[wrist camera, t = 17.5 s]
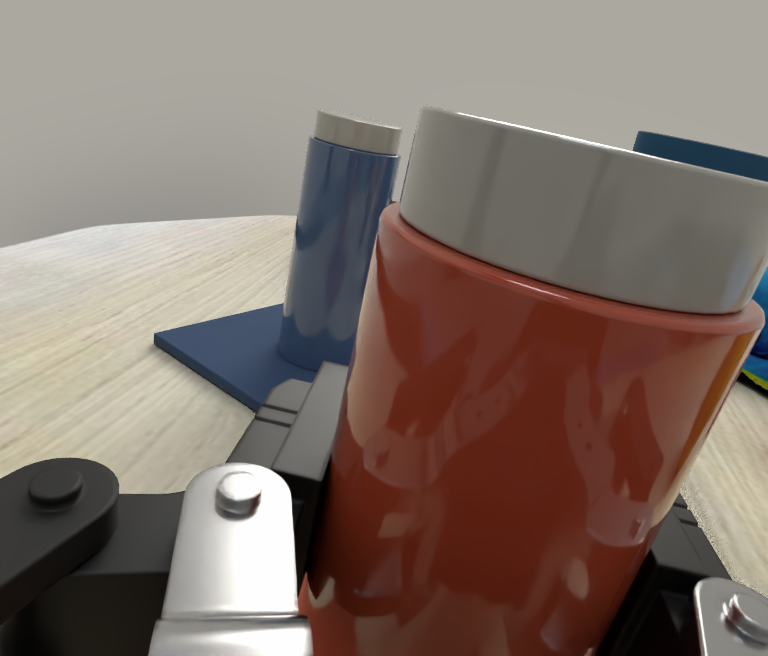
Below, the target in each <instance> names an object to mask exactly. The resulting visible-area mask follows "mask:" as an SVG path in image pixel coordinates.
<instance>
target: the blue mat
mask: <svg viewBox="0 0 768 656" xmlns="http://www.w3.org/2000/svg"><path fill="white" fill-rule="evenodd" d="M283 308H284V303H282V304H278V305H274V306H270V307H265V308H261V309H257V310H252V311H248V312H244V313H240V314H235V315H231V316H227V317H222V318H218V319H214V320H209V321H205V322H201V323H197V324H192V325H188V326H184V327H179V328H175V329H171V330H166V331H162V332H158V333H155V334H154V344H156V345H157V346H159V347H160V348H162V349H163V350H165V351H166V352H168V353H169V354H171V355H172V356H174V357H175V358H177V359H178V360H180V361H181V362H183V363H184V364H186V365H187V366H189V367H190V368H192V369H193V370H195V371H196V372H198V373H199V374H200V375H202V376H203V377H205V378H206V379H208V380H209V381H211V382H212V383H214V384H215V385H217V386H218V387H220V388H221V389H223V390H224V391H226V392H227V393H229V394H230V395H232V396H233V397H235V398H236V399H238V400H239V401H241V402H242V403H244V404H245V405H247V406H248V407H250V408H251V409H253V410H254V411H256V412H258V410H259V409H260V407H261V406H262V405H263V402H264V401H265V399H266V397H267V396H268V394H269V393H270V391H271V390H272V388H274V387H276V386H278V385H279V384H281V383H283V382H285V381H287V380H289V379H290V378H292V379H296V380H300V381H305V382H309V383H312V382H313V380H314V378H315V376H316V374H317V372H318V371H313V370H309V369H305V368H302V367H299V366H296V365H294V364H292V363H290V362H289V361H287V360H286V359H284V358H283V357H282V356H281V354H280V353H279V351H278V341H279V334H280V328H281V321H282V314H283Z"/></svg>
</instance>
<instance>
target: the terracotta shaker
mask: <svg viewBox="0 0 768 656" xmlns="http://www.w3.org/2000/svg"><path fill="white" fill-rule="evenodd" d="M767 267H768V182H766V181H761V180H757V179H752V178H748V177H744V176H739V175H735V174H730V173H726V172H721V171H717V170H713V169H708V168H704V167H699V166H695V165H691V164H686V163H682V162H677V161H673V160H668V159H664V158H660V157H655V156H651V155H646V154H642V153H638V152H633V151H628V150H624V149H620V148H615V147H611V146H607V145H602V144H597V143H593V142H589V141H584V140H580V139H576V138H571V137H567V136H562V135H558V134H553V133H549V132H544V131H540V130H536V129H531V128H527V127H522V126H518V125H513V124H509V123H505V122H500V121H495V120H491V119H487V118H482V117H478V116H474V115H469V114H465V113H460V112H456V111H451V110H447V109H442V108H438V107H433V106H429V105H423V106H422V107H421V108H420V111H419V116H418V121H417V125H416V130H415V134H414V139H413V143H412V148H411V153H410V157H409V162H408V166H407V171H406V176H405V180H404V185H403V190H402V194H401V199H400V202H395V203H392V204H389V205H387V206H386V207H385V208H384V209H383V210H382V212H381V213H380V216H379V221H378V226H377V231H376V235H375V240H374V245H373V250H372V255H371V260H370V265H369V269H368V274H367V279H366V284H365V289H364V294H363V299H362V303H361V308H360V313H359V318H358V323H357V328H356V333H355V338H354V342H353V347H352V352H351V357H350V362H349V367H348V372H347V376H346V381H345V386H344V391H343V396H342V401H341V406H340V410H339V415H338V420H337V425H336V430H335V435H334V440H333V444H332V449H331V455H330V460H329V465H328V470H327V475H326V479H325V484H324V489H323V494H322V499H321V504H320V509H319V513H318V518H317V523H316V528H315V533H314V538H313V543H312V547H311V552H310V557H309V562H308V567H307V572H306V576H305V581H304V585H303V590H302V595H301V600H300V605H299V615H307V616H308V619H309V622H310V627H311V633H312V643H313V656H596V655H597V653H598V651H599V649H600V647H601V645H602V643H603V641H604V639H605V637H606V635H607V633H608V631H609V629H610V627H611V625H612V623H613V621H614V619H615V617H616V615H617V614H618V612H619V610H620V608H621V606H622V604H623V602H624V600H625V598H626V596H627V594H628V592H629V590H630V588H631V586H632V584H633V582H634V580H635V578H636V576H637V574H638V572H639V570H640V568H641V566H642V564H643V563H644V561H645V559H646V557H647V555H648V553H649V551H650V549H651V547H652V545H653V543H654V541H655V539H656V537H657V535H658V533H659V531H660V529H661V527H662V525H663V523H664V521H665V519H666V517H667V515H668V513H669V512H670V510H671V508H672V506H673V504H674V502H675V500H676V498H677V496H678V494H679V492H680V490H681V488H682V486H683V484H684V482H685V480H686V478H687V476H688V474H689V472H690V470H691V468H692V466H693V464H694V462H695V461H696V459H697V457H698V455H699V453H700V451H701V449H702V447H703V445H704V443H705V441H706V439H707V437H708V435H709V433H710V431H711V429H712V427H713V425H714V423H715V421H716V419H717V417H718V415H719V413H720V411H721V410H722V408H723V406H724V404H725V402H726V400H727V398H728V396H729V394H730V392H731V390H732V388H733V386H734V384H735V382H736V380H737V378H738V376H739V374H740V372H741V370H742V368H743V366H744V364H745V362H746V360H747V359H748V357H749V355H750V353H751V351H752V349H753V347H754V345H755V343H756V341H757V339H758V337H759V335H760V333H761V331H762V329H763V327H764V325H765V314H764V311H763V309H762V308H761V307H760V305H759V304H758V303H756V302H755V301H754V300H753V299H752V298H753V296H754V294H755V292H756V290H757V288H758V285H759V283H760V281H761V279H762V277H763V275H764V273H765V271H766V269H767Z"/></svg>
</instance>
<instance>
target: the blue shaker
mask: <svg viewBox="0 0 768 656" xmlns="http://www.w3.org/2000/svg"><path fill="white" fill-rule="evenodd" d="M401 134H402V128H401V127H399V126H396V125H392V124H389V123H385V122H381V121H377V120H373V119H369V118H365V117H360V116H355V115H351V114H346V113H340V112H335V111H329V110H321V109H320V110H318V111H317V117H316V122H315V129H314V135H310V136H309V139H308V146H307V152H306V159H305V166H304V173H303V180H302V186H301V194H300V200H299V207H298V213H297V220H296V227H295V233H294V240H293V247H292V254H291V260H290V267H289V274H288V281H287V287H286V294H285V301H284V308H283V314H282V321H281V328H280V334H279V341H278V351H279V353H280V354H281V356H282V357H283V358H284V359H286V360H287V361H289V362H290V363H292V364H294V365H296V366H299V367H302V368H305V369H309V370H313V371H318V370H319V368H320V366H321V364H322V362H323V361H324V360H325V361H329V362H333V363H337V364H342V365H346V366H349V362H350V357H351V352H352V347H353V342H354V338H355V333H356V328H357V323H358V318H359V313H360V308H361V303H362V299H363V294H364V289H365V284H366V279H367V274H368V269H369V265H370V260H371V255H372V250H373V245H374V240H375V235H376V231H377V226H378V221H379V216H380V213H381V212H382V210H383V209H384V208H385V207H386V206H387V205H389V204H391V202H392V197H393V192H394V187H395V183H396V178H397V174H398V168H399V164H400V159H401V155H400V154H398V147H399V144H400V139H401Z"/></svg>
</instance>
